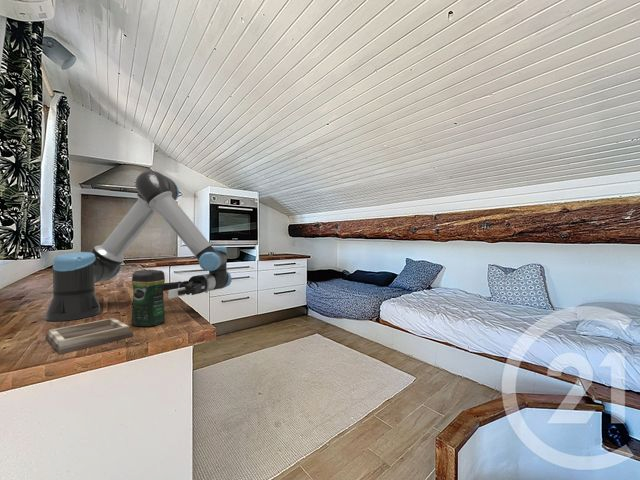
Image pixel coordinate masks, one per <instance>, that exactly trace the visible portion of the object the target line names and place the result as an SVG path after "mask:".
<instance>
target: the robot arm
mask: <svg viewBox="0 0 640 480" xmlns="http://www.w3.org/2000/svg"><path fill="white" fill-rule="evenodd" d="M135 190H136V191H137V194H136V197H137V201H136V202H135V203H134V204H133V205H132V207H131V208H130V209H129V211H128V212H126V214H125V215H124V216H123V218H122V219H121V221H120V222H119V223H118V224H117V226H115V228H114V229H113V231H112V232H111V233H110V234H109V236H107V238H106V239H105V240H104V241H103V243H102V244H99V245H95V246H94V247H93V248H92V249H91V251H90V252H88V251H80V252H71V253H69V252H68V253H63V254H58V255H56V256H55V257H54V259H53V265H52V273H53V274H52V299H51V301H50V304H49V305H48V308H47V310H46V313H45V319H46V321H50V322H64V321H74V320H75V321H76V320H79V319H85V318H89V317H93V316H96V315H99V314H100V313H101V305H100V302H99V301H98V297H97V296H96V293H95V292H96V291H95V290H96V289H95V287H96V285H95V284H96V283H101V282H106V281H109V280H111V279H113V278H115V277H116V276H118V274H119V273H120V272H121V269H122V263H123V262H124V261H125V258H124V255H125V254H126V252H127V251H128V249H130V247H131V246H132V245H133V243H134V242H135V241H136V240H137V238H138V237H139V236H140V234H141V233H142V232H143V230H145V228H146V227H147V225H148V224H149V223H151V221H152V219H153V218H154V217H155V215H156V214H157V213H159V214H160V216H161V217H162V218H163V220H164V221H165V222H166V223H167V224H168V225H169V227H170V228H171V229H172V230H173V232H174V233H175V234H176V235H177V236H178V238H180V240H181V241H182V242H183V243H184V245H185V246H186V247H187V248H188V249H189V251H190V252H191V253H192V255H194V257H195V258H196V259H197V260H198V265H199V267H200V268H201V269H202V270H204V271H206V272H208V273H204V274H198V275H192V276H191V277H189V279H188V280H184V281H181V280H180V281H175V282H165V283H164V286H163V292H164V291H165V292H167V299H170V300H171V299H173V298H178V297H183V296H186V295H187V296H189V295H191V296H194V295H198V294H202V293H203V294H204V293H206V294H208V292H211V291H215V290H220V289H221V290H222V289H224V288H227V287H229V286H230V285H231V283H232V280H233V279H232V276H231V273H229V272H228V271H227V270H228V269H227V268H228V267H227V265H228V263H227V261H228V258H227V257H228V252H227V251H228V250H227V247H226V246H225V245H224V246H219V245H218V246H212V244H211V243H210V241H208V239H207V238H206V237H205V236H204V234H203V233H202V232H201V231H200V229H199V228H198V227H197V226H196V225H195V223H194V222H193V220H191V218H190V217H189V216H188V215H187V214H186V212H185V211H184V210H183V208H182V207H181V206H180V204H178V203H177V199H179V195H180V194H179V193H180V191H179V190H180V188H179V186H178V185H177V183H176V182H175V181H173V180H172V178H169V177H168V176H166V175H164V174H162V173H160V172H159V171H155V170H146V171H143V172H141V173H140V174H139V175H138V176H137V177H136V179H135Z"/></svg>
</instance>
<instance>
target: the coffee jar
mask: <svg viewBox="0 0 640 480" xmlns="http://www.w3.org/2000/svg"><path fill="white" fill-rule="evenodd" d="M165 278H166V277H165V272H164V271H163V270H158V269H141V270H136V271H134V272H133V273H132V276H131V285H132V289H133V292H132V293H133V294H132V295H133V298H132V311H131V325H133V326H137V327H152V326H157V325H160V324H162V323H164V321H166V320H165V319H166V317H165V315H166V314H165V303H164V302H165V301H164V300H165V299H164V291H163V286H164V283H166V282H165V281H166V279H165Z"/></svg>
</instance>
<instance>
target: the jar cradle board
mask: <svg viewBox="0 0 640 480" xmlns="http://www.w3.org/2000/svg"><path fill="white" fill-rule="evenodd" d="M130 329H131V328H130V326H129V325H127V324H126V323H124V322H121V320H118V319H116V318H114V317H110V318H104V319H100V320H99V319H98V320H95V321H91V322H85V323H84V322H83V323H79V324H75V325H67V326H63V327H57V328H53V329H52V328H51V329H48V333H46V334H45V339H46V340H47V341H48V343H50V345H51V346H52V347H53V348H54V350H55V351H56V352H57V353H58V354H59V355H62V354H66V353H70V352H71V353H72V352H76V351H79V350H83V349H87V348H92V347H96V346H99V345H104V344H107V343H111V342H112V343H113V342H115V341H121V340H125V339H129V338H133V337H134V332H133V331H131V330H130Z"/></svg>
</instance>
